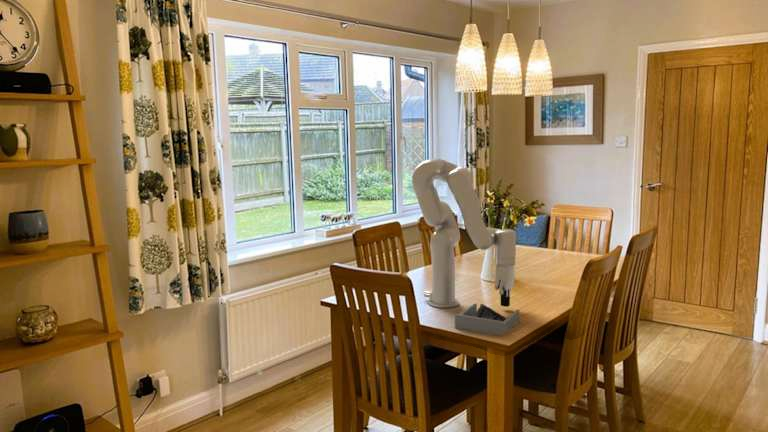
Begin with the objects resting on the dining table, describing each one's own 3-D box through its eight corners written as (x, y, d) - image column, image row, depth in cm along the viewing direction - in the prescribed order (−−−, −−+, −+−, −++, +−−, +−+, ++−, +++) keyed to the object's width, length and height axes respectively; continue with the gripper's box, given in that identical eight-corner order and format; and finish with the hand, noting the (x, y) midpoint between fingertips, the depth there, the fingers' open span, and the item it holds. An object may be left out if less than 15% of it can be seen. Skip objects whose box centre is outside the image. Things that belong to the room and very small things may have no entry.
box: (454, 327, 210) (454, 314, 209) (474, 313, 226) (474, 300, 225) (502, 336, 201) (502, 322, 200) (519, 320, 217) (519, 307, 216)
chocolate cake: (512, 321, 217) (490, 297, 221) (510, 322, 210) (488, 297, 214) (492, 338, 218) (471, 313, 222) (490, 339, 212) (469, 313, 215)
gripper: (503, 256, 235) (502, 299, 238) (489, 263, 223) (489, 309, 225) (521, 258, 231) (520, 302, 234) (508, 265, 219) (507, 312, 221)
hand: (505, 305), depth 230 cm, fingers closed
